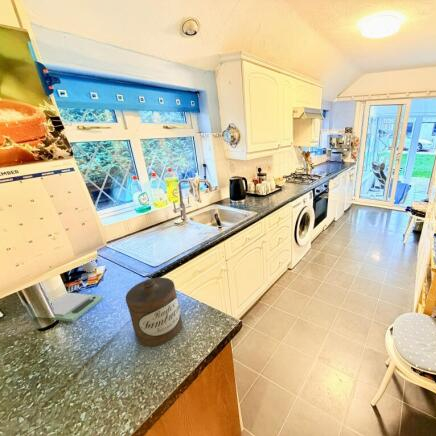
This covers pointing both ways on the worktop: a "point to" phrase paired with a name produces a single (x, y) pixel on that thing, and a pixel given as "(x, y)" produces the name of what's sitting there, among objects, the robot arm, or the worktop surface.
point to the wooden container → (154, 311)
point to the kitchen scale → (73, 305)
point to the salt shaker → (90, 266)
